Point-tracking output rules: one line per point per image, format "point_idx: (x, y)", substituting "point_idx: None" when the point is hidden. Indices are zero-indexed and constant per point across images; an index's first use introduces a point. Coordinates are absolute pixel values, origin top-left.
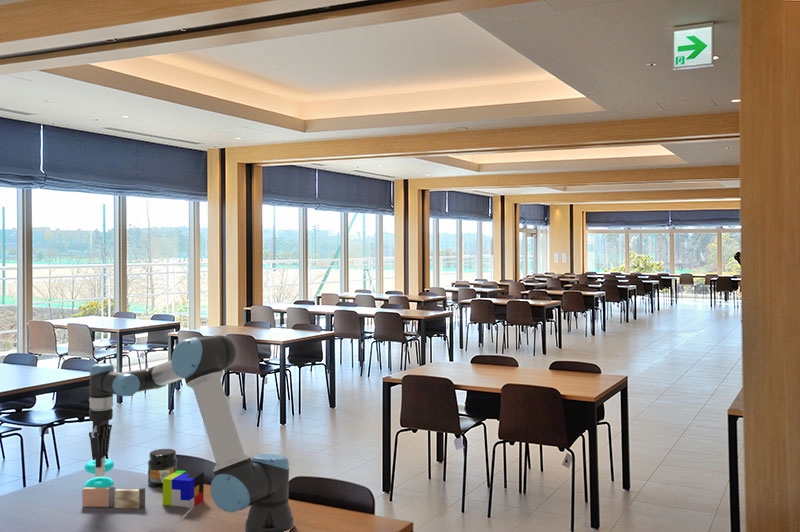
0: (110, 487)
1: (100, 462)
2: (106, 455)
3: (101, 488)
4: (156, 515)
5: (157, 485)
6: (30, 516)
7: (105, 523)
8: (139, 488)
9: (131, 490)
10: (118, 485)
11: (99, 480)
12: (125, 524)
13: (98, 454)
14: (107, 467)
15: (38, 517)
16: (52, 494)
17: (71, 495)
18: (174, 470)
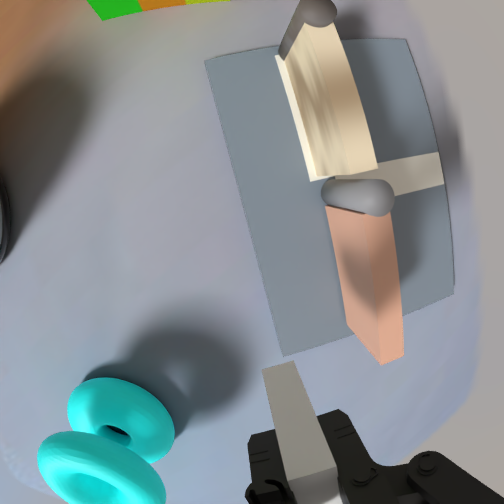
0: (391, 199)
1: (343, 441)
2: (285, 484)
3: (385, 264)
4: None
5: (6, 197)
6: (423, 404)
7: (444, 126)
8: (324, 21)
9: (342, 67)
10: (61, 371)
11: (106, 437)
12: (426, 53)
13: (463, 470)
14: (97, 446)
15: (430, 380)
16: (239, 486)
17: (225, 448)
18: None
